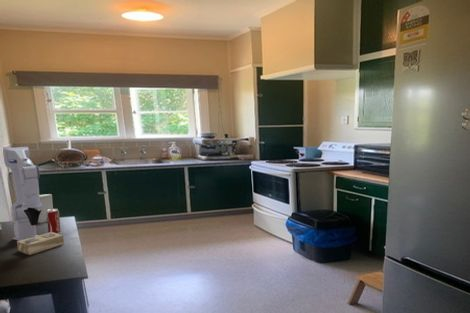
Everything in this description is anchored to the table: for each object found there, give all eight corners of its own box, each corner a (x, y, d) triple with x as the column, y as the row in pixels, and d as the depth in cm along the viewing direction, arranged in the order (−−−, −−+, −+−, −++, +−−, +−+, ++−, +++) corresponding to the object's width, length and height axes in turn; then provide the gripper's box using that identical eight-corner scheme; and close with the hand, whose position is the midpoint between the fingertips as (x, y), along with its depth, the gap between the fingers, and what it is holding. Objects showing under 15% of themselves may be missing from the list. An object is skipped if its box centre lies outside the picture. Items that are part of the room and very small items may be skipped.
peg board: (17, 250, 132) (16, 241, 131) (51, 240, 143) (51, 231, 143) (29, 255, 126) (28, 245, 126) (63, 243, 138) (63, 235, 138)
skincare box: (41, 223, 173) (38, 196, 171) (33, 222, 175) (31, 196, 174) (54, 219, 180) (52, 193, 179) (47, 218, 183) (45, 193, 181)
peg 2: (43, 244, 137) (42, 235, 137) (51, 242, 140) (50, 233, 140) (47, 246, 135) (46, 237, 135) (55, 243, 138) (55, 234, 138)
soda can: (55, 235, 150) (53, 211, 149) (45, 235, 151) (43, 211, 150) (63, 232, 155) (61, 208, 154) (54, 231, 156) (52, 208, 155)
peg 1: (25, 250, 131) (24, 240, 131) (35, 247, 134) (34, 238, 134) (30, 251, 129) (29, 242, 129) (39, 248, 132) (38, 239, 132)
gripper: (13, 194, 134) (16, 224, 135) (29, 197, 126) (32, 230, 127) (30, 191, 140) (33, 220, 141) (47, 194, 132) (50, 225, 133)
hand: (34, 224), depth 135 cm, fingers closed
